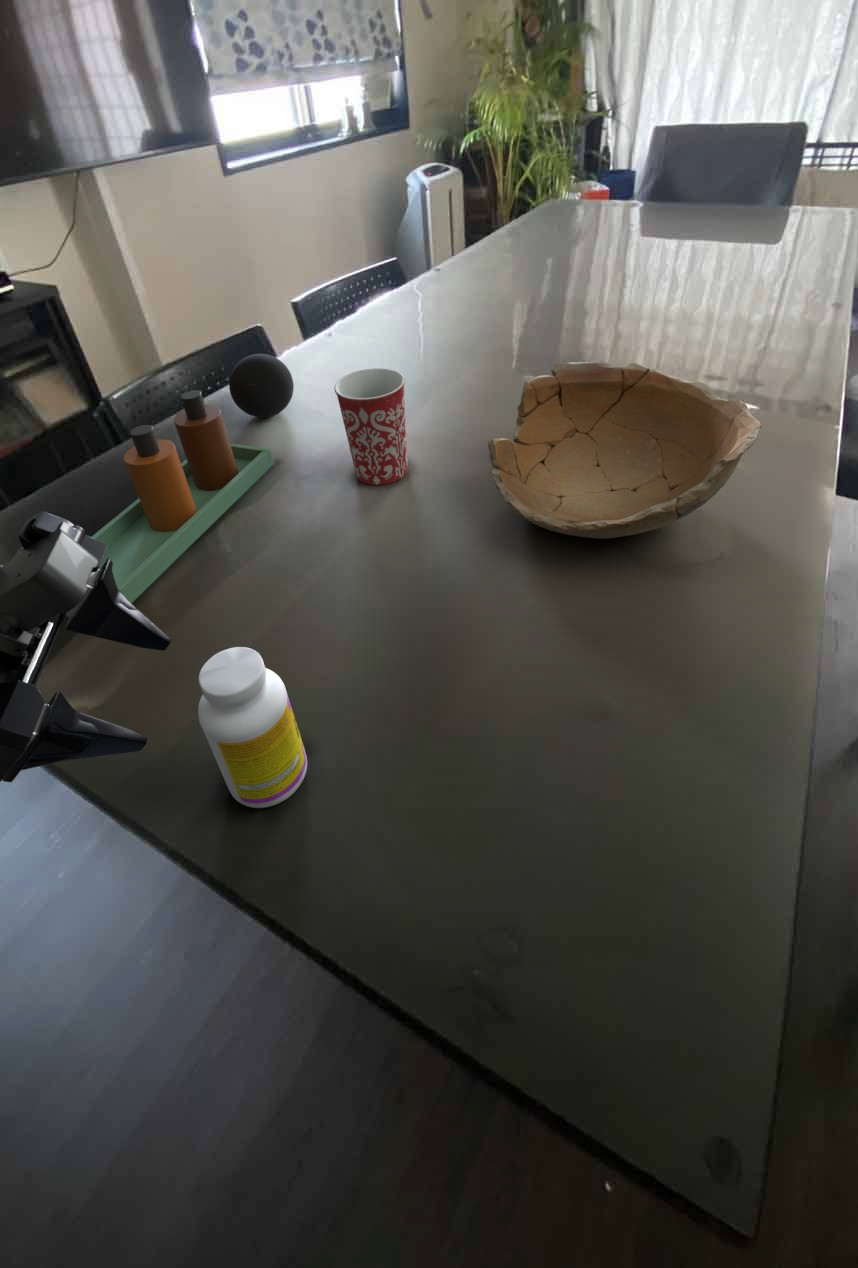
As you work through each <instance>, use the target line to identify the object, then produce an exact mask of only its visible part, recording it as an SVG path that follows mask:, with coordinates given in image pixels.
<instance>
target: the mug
mask: <svg viewBox="0 0 858 1268" xmlns="http://www.w3.org/2000/svg"><path fill="white" fill-rule="evenodd" d="M405 385H406V377H405V376H404V374H402V372H400V371H398V370H395V369H392V368H385V367H371V368H362V369H359V370H355V371H352V372H349V373H347V374H345V375H343V376H342V377H340V378H339V379H337V380H336V382H335V384H334V387H333V389H334V393H335V394H336V396H337V397H336V398H337V400H338V404H339V409H340V413H341V417H342V421H343V425H344V429H345V435H346V438H347V439H346V440H347V443H348V447H349V451H350V455H351V460H352V464H353V468H354V472H355V475H356V478H357V479H358V480H359V481H360V482H362V483H364V484H367V485H372V486H385V485H389V484H393V483H395V482H397V481H399V480H401V479H402V478H403V477H404V476H405V475H406V474H407V472H408V468H409V466H408V444H407V425H406V403H405V402H406V401H405Z"/></svg>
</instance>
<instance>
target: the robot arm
mask: <svg viewBox="0 0 858 1268" xmlns="http://www.w3.org/2000/svg"><path fill="white" fill-rule="evenodd" d="M85 532H86V531H85V529H84V528H83V527H82V526H80V525H75V524H73V522H71V521H70V520H68V519H66V518H63V517H60V516H57V515H55V514H52V513H48V512H46V511H43V510H40V511H39V512H37V513H36V514H34V515H33V516H32V517H29V518H28V519H27V520H26V522H25V523H24V525H23V526H22V529H20V531H19V533H18V535H17V539H18V541H19V542H20V545H21V547H20V548H18V549H17V551H16V552H15V554H14V556H13V557H12V558H11V559H10V560H9V561H7V562H6V563H4V564H0V783H1V782H4V783H5V782H6V783H12V782H13V781H14V780H15V779H16V778H17V777H18V775H19V774H20V773H21V771H25V770H30V769H34V768H39V767H44V766H47V765H48V766H49V765H52V764H56V763H61V762H66V761H73V760H81V759H87V758H88V759H89V758H96V757H103V756H104V757H105V756H112V755H120V754H128V753H135V752H141V751H142V750H143V748H144V747H145V746H146V745H147V743H148V738H147V737H146V736H144V735H142V734H140V733H138V732H136V731H134V730H132V729H129V728H127V727H124V726H122V725H118V724H117V723H116V724H115V723H112V722H109V721H106V720H105V719H101V718H99V717H95V716H93V715H89V714H86V713H84V712H81V711H78V710H76V709H74V708H73V706H72V705H71V704H70V702H69V701H68V700H67V699H66V697H65V695H63V693H62V691H60V690H58V689H57V690H56V692H55V693H54V694H53V695H52V697H51V698H50V700H49V701H48V702H47V700H46V699H45V697H44V695H43V693H42V692H41V690H40V689H39V687H38V686H37V684H38V681H39V679H40V677H41V674H42V671H43V670H44V667H45V665H46V663H47V660H48V658H49V655H50V654H51V651H52V649H53V646H54V644H55V641H56V639H57V636H58V635H59V632H60V629H61V628H62V625H63V623H64V620H65V618H66V617H68V620H67V623H66V625H65V628H64V630H65V631H68V632H73V633H78V634H81V635H86V636H90V637H95V638H99V639H103V640H107V641H112V642H116V643H120V644H124V645H129V646H133V647H137V648H141V649H148V650H155V651H161V652H162V651H163V652H164V651H165V650H166V649H167V648H169V646H170V644H171V641H172V640H171V638H170V637H169V636H168V635H167V634H166V633H164V631H162V630H161V628H159V627H158V626H157V625H155V624H154V623H153V622H152V621H151V620H150V619H149V618H148V617H147V616H145V615H144V614H143V613H142V612H141V611H140V610H139V609H138V608H137V607H136V606H135V605H134V604H133V603H132V604H131V603H130V602H129V601H128V600H127V599H126V598H125V597H124V595H123V594H122V593H121V592H120V591H119V590H118V588H117V586H116V582H115V579H114V575H113V572H112V566H113V562H112V560H111V559H110V558H108V559H107V560H106V562H105V563H104V564H103V566H102V567H101V569H99V567H100V565H101V563H102V560H103V558H104V555H105V553H106V550H107V548H108V545H106V544H104V543H102V542H99V541H97V540H95V539H93V538H91V537H92V536H89V535H86V534H85ZM36 629H37V631H36ZM35 631H36V632H35ZM34 633H35V634H34ZM46 702H47V703H46Z"/></svg>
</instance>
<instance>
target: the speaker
mask: <svg viewBox="0 0 858 1268" xmlns="http://www.w3.org/2000/svg"><path fill="white" fill-rule="evenodd" d="M294 386H295V385H294V379H293V376H292V373H291V371H290V370H289V368H288V367H287V366H286V364H285V363H284V362H283V361H281V360H280V359H279V358H277V357H275V356H273V355H270V354H267V353H253V354H249V355H247V356H245V357H243V358H242V359H240V360H239V361H238V362H237V363H236V364H235V365H234V367H233V368H232V371H231V373H230V376H229V381H228V388H229V393H230V396H231V399H232V400H233V402H234V404H235V405H236V406H237V407H238V408H239V410H241V411H242V412H244V413H245V414H247V415H249V416H252V417H255V418H270V417H273V416H276V415H278V414H279V413H282V412H283V411H284V410H285V409H286V408H287V407H288V405H289V404H290V402H291V400H292V399H293V395H294V389H295V387H294Z"/></svg>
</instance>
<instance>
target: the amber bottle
mask: <svg viewBox="0 0 858 1268" xmlns="http://www.w3.org/2000/svg"><path fill="white" fill-rule="evenodd" d="M129 435H130V438H131V440H132V442H133V445H134V446H133V447H130V448H129V449H127V451H126V452H125V453H124V455H123V461H124V462H123V463H124V464H125V467H126V469H127V471H128V474H129V476H130V479H131V481H132V484H133V487H134V490H135V492H136V494H137V496H138V497H137V498H139V499H140V502H141V504H142V507H143V509H144V512H145V514H146V517H147V519H148V522H149V524H150V527H151V528H152V529H153V530H155V531H158V532H171V531H175V530H178V529H179V528H180V527H181V526H183V525H184V524H185V523H186V522H187V521H188V520H189V519H190V518H191V517H192V516H193V515H194V514H195V513H197V509H196V506H195V503H194V500H193V497H192V495H191V492H190V489H189V486H188V483H187V480H186V477H185V474H184V471H183V468H182V465H181V463H182V462H181V460H180V457H179V454H178V451H177V447H176V445H175V444H174V442H173V441H172V440H168V439H158V438H157V436H156V433H155V430H154V428H153V426H152V425H150V424H142V425H138V426H135V427H134V428H132V429H131V430H130V431H129Z"/></svg>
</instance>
